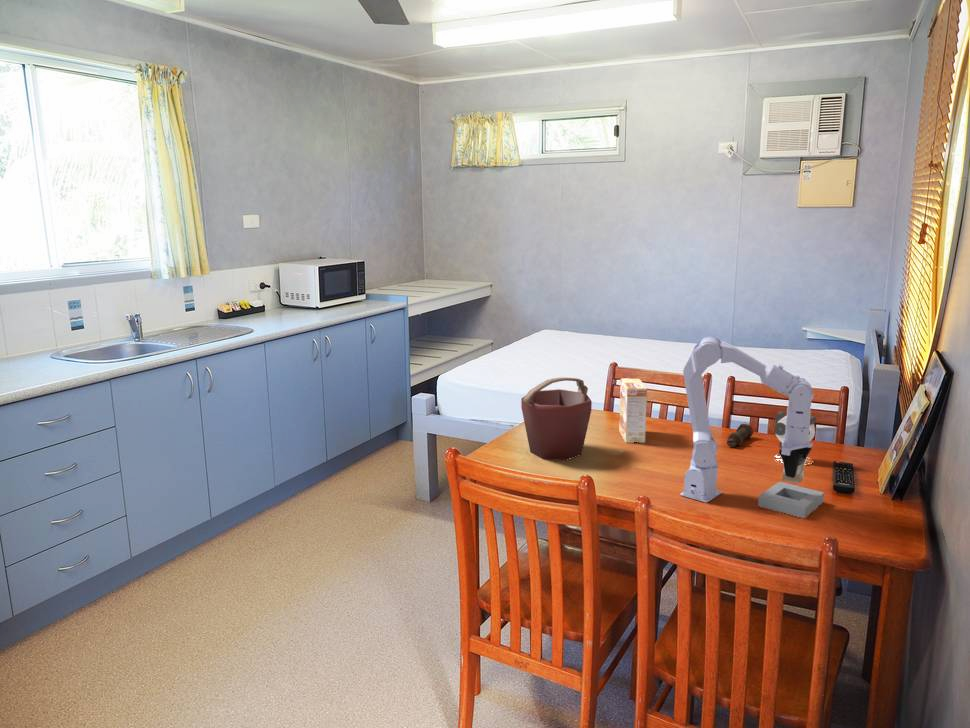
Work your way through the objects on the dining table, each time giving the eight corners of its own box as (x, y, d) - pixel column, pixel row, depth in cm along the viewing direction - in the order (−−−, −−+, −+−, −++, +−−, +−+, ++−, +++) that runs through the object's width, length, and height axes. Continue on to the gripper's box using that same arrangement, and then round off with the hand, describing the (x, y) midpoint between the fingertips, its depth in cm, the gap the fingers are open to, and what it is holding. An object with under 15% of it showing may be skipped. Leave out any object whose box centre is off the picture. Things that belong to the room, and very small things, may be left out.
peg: (797, 484, 186) (799, 462, 185) (782, 480, 189) (784, 458, 187) (803, 479, 189) (805, 458, 187) (788, 476, 191) (789, 455, 190)
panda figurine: (766, 460, 224) (770, 415, 221) (779, 451, 232) (782, 407, 229) (806, 469, 216) (810, 422, 213) (817, 459, 225) (821, 414, 222)
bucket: (579, 439, 247) (580, 369, 242) (605, 459, 226) (607, 383, 221) (512, 445, 241) (512, 374, 236) (533, 467, 220) (533, 389, 215)
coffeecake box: (618, 430, 257) (620, 378, 253) (638, 430, 257) (640, 378, 253) (624, 443, 242) (626, 388, 238) (645, 443, 242) (647, 388, 238)
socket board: (804, 519, 181) (805, 508, 180) (758, 506, 189) (758, 495, 188) (823, 502, 191) (824, 492, 190) (778, 491, 199) (779, 481, 198)
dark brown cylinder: (728, 453, 237) (743, 440, 249) (741, 448, 234) (756, 436, 245) (720, 437, 238) (735, 425, 249) (733, 432, 235) (748, 420, 246)
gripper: (803, 434, 178) (798, 485, 180) (823, 422, 188) (818, 470, 191) (774, 429, 182) (771, 478, 185) (796, 417, 193) (792, 464, 195)
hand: (793, 474), depth 188 cm, fingers closed on peg, 4 cm apart
